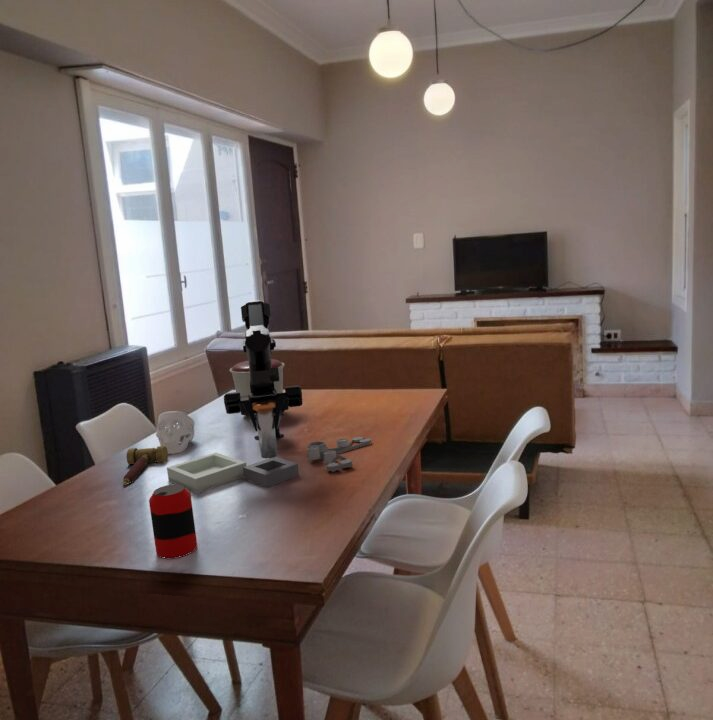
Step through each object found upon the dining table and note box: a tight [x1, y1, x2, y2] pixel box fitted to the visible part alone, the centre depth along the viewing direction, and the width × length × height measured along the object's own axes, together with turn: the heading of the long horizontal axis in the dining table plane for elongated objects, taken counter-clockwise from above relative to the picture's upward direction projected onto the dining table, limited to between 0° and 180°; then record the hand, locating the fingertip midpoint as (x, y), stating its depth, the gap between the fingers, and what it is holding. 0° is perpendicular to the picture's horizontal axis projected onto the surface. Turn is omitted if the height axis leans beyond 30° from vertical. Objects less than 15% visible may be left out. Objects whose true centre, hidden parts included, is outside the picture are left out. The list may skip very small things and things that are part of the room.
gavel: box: [122, 446, 169, 486], centre depth 177 cm, size 21×5×10 cm
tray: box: [166, 452, 247, 494], centre depth 168 cm, size 14×14×4 cm
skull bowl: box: [155, 410, 195, 455], centre depth 197 cm, size 10×14×12 cm
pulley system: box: [305, 436, 372, 473], centre depth 178 cm, size 27×5×15 cm
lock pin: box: [252, 401, 279, 459], centre depth 163 cm, size 6×6×13 cm
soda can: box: [148, 484, 198, 559], centre depth 128 cm, size 8×8×12 cm
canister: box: [229, 358, 285, 418], centre depth 226 cm, size 18×18×21 cm
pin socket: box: [243, 456, 300, 488], centre depth 165 cm, size 10×10×3 cm
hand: (266, 429), depth 162 cm, fingers closed on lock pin, 4 cm apart
